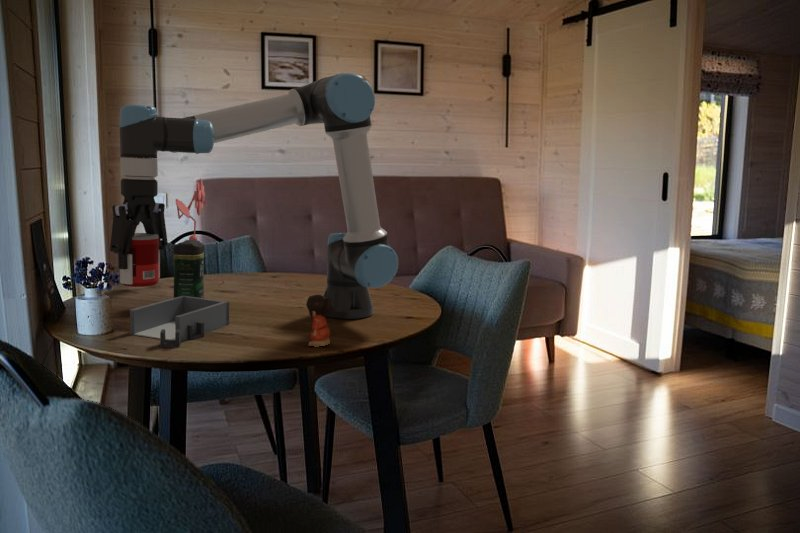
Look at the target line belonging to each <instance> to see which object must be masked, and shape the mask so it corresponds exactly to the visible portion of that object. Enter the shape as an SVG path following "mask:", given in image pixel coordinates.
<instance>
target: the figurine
mask: <svg viewBox="0 0 800 533" xmlns="http://www.w3.org/2000/svg"><path fill="white" fill-rule="evenodd" d="M305 305H306V308H307V311H308V316H309V318H311V319H312V325H311V329H312V330H311V331H310V332H309V337H310V339H311V340H310V341H309V342H308V344H307V345H309V346H314V347H313V348H320V347H319V346H324V347H326V346H325V345H327V346H329V345H331V344H330V343H331V339H330V336H331V331H330V328H329V326H328V321H327V319H326V316H325V315H329V314H331V313H332V311H333V310H334V305H333V304H332V300H331V298H326V297H324V296H323V295H322V294H313V295H310V296H309V297H308V298H307V300H306V304H305ZM328 344H329V345H328ZM309 346H308V347H309Z"/></svg>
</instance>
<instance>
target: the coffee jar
mask: <svg viewBox="0 0 800 533" xmlns="http://www.w3.org/2000/svg"><path fill="white" fill-rule="evenodd" d="M204 247H205V245H204V243H202V242H201V241H200V240H198V239H197V240H189V239H185V240H184V241H182V242H178V243H177V244H175V245H173V298H176V297H179V296H190V297H198V298H205V286H204V283H205V280H204V277H205V276H204V272H205V271H204V270H205V269H204V267H205V266H204V265H205V264H204V262H205V261H204V258H205V250H204V249H205V248H204Z"/></svg>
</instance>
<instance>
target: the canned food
mask: <svg viewBox="0 0 800 533" xmlns="http://www.w3.org/2000/svg"><path fill="white" fill-rule="evenodd" d="M123 248H125V247H123ZM129 254H132V272H133V284H123V286H125V287H131V288H134V287H135V288H142V287H152V286H155V285H158V283H159V280H160V278H159V238H158V235H157V234H146V232H135V234H134V237H132V245H131V248H130V251H129Z"/></svg>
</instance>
